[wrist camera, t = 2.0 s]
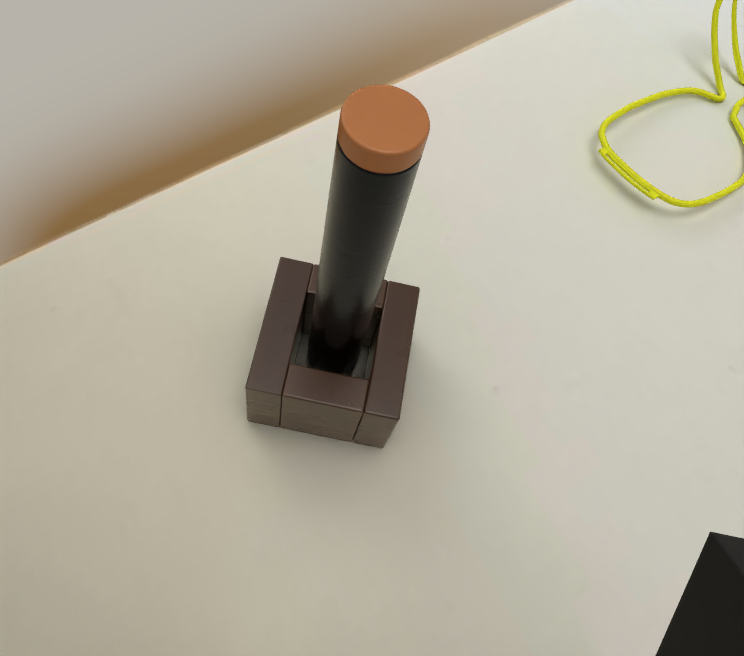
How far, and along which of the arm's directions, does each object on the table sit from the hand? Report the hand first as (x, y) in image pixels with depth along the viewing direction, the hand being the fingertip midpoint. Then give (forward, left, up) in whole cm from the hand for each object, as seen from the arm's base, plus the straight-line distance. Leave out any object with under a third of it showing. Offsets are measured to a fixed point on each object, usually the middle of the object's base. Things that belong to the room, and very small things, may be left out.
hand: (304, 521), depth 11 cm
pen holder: (0, +10, -17) cm, 20 cm away
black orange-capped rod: (0, +10, -17) cm, 20 cm away
